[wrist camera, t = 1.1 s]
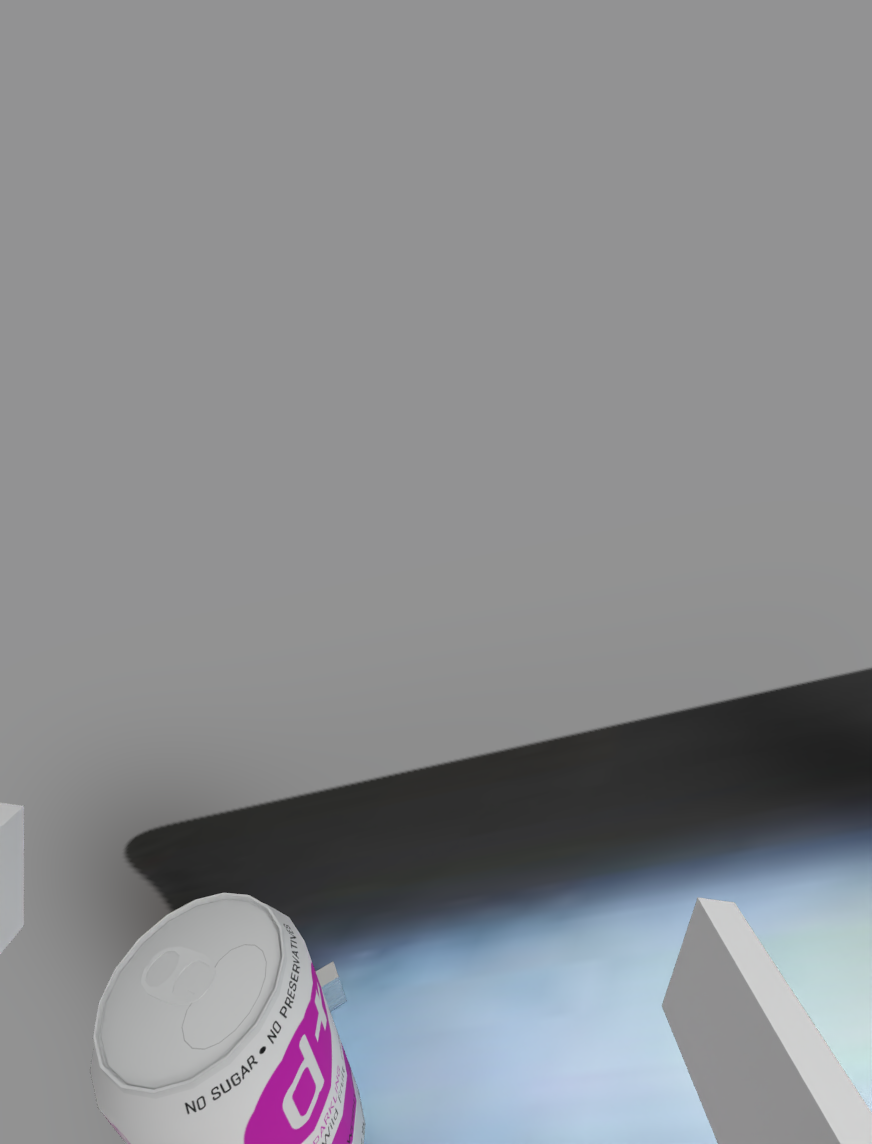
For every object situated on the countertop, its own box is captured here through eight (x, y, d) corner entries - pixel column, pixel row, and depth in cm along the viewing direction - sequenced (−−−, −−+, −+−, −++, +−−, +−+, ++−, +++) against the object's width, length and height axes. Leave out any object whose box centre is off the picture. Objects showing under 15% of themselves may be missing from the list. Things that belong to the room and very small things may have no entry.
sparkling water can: (393, 1086, 30) (337, 905, 24) (312, 1325, 23) (203, 1162, 17) (266, 1035, 33) (186, 861, 27) (162, 1235, 26) (21, 1066, 20)
